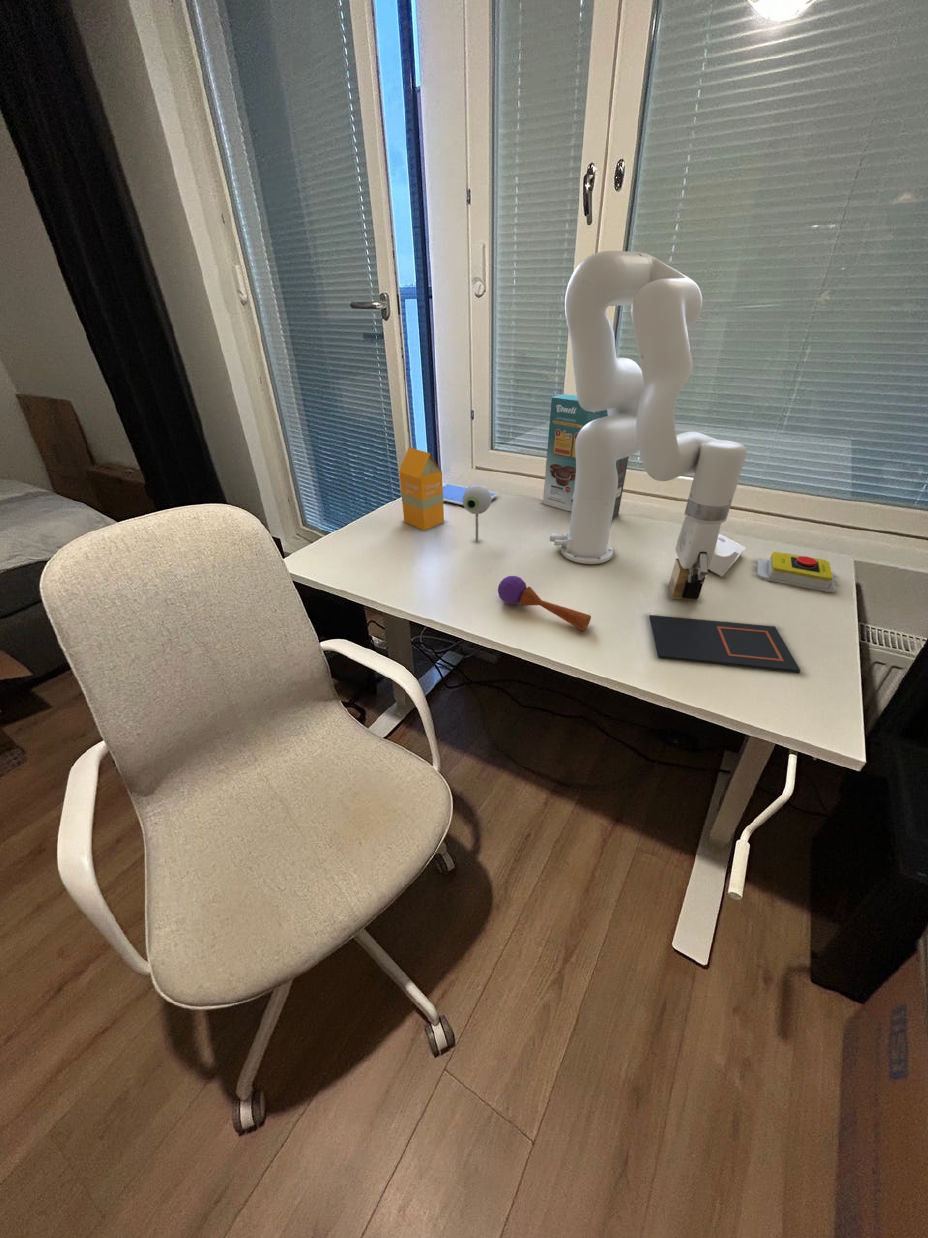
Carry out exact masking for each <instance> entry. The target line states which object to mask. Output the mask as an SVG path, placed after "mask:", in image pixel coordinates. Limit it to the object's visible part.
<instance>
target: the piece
mask: <svg viewBox="0 0 928 1238" xmlns="http://www.w3.org/2000/svg"><path fill="white" fill-rule="evenodd" d="M693 566H695V567H698V565H697V564H694V565H693ZM697 572H698V571H695V570H693V575H695V574H697ZM688 573H689V569H684V568H683V567H682V566H681V564H680V561H679V559H678V557H677V558H675V561H674V564H673V568H672V572H671V576H670V579H669V583H668V590H669V593H670V596H671V599H672V600H673V599H674V600H684V601H695V602H698V599H688V598H682V592H683V589H684V585H685V581H686V580H688Z"/></svg>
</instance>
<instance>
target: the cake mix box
mask: <svg viewBox="0 0 928 1238" xmlns="http://www.w3.org/2000/svg"><path fill="white" fill-rule="evenodd" d="M606 416H608V413H607V410H603V411H597V412H589V411H586V410H584V409H583V408H582V407H581V406H580V404H579V402H578V398H577V394H576V395H575V394H567V393H561V394H558V395H555V396H554V395H553V396H551V402H550V413H549V426H548V435H547V436H548V437H547V440H548V441H547V451H546V462H545V472H544V473H545V474H544V484H543V497H542V504H543V505H545V506H550V507H553V508H557V509H560V510H564V511H567V512H570V513H572V505H573V497H574V488H575V478H576V454H575V443H576V438H577V435H578V433H579V432H580V430H581V429H582V428H583V427H584V426H585V425H586V424H587V423H589V422H591V421H593V420H596V419H599V418H602V417H606ZM629 458H630V456H628V457H625V458H622V459H620V460H617V461H616V469H617V474H618V487H617V493H616V499H615V505H614V511H613V517H612V520H614V519H615V518H617V517H619V512H620V507H621V502H622V497H623V491H624V485H625V480H626V475H627V469H628V464H629V460H630V459H629Z"/></svg>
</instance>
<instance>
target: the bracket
mask: <svg viewBox="0 0 928 1238" xmlns="http://www.w3.org/2000/svg"><path fill="white" fill-rule="evenodd" d="M746 549H747V547H746V546H744V545H742V544H739V543H738V542H736V541H735V540H733V539H731V538H729V537H727V536H725V535H723V534H721V533H719V535H718V539H717V543H716V547H715V551H714V555H713V558H712V561H711V564H710V566H709V568H708V571H711V572H712V573H714V574H716V575H718V576H720V577H723V576H724V575H725V574H727V572H728V570H730V568H731V567H732V566H733V565H734V564H735V563H736V562H737V560H738V559H739V558H740V557H741V555H742V554H743V553H744V552H745V550H746Z"/></svg>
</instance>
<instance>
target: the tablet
mask: <svg viewBox="0 0 928 1238" xmlns="http://www.w3.org/2000/svg"><path fill="white" fill-rule="evenodd" d="M467 488H468V487H464V486H460V485H456V484H455V485H454V484H449V483H448V484H445V485H443V502H447V503H451V504H455V505H460V506H464V505H463V495H464V492H465V491H466V489H467ZM490 495H491V501H493V500H494V499H496V497H498V494H497V493H495V492H490Z"/></svg>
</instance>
